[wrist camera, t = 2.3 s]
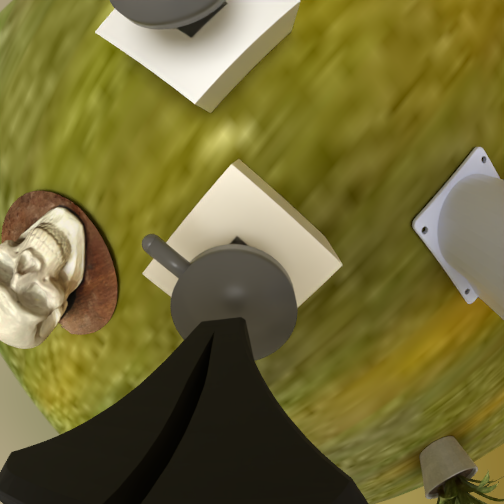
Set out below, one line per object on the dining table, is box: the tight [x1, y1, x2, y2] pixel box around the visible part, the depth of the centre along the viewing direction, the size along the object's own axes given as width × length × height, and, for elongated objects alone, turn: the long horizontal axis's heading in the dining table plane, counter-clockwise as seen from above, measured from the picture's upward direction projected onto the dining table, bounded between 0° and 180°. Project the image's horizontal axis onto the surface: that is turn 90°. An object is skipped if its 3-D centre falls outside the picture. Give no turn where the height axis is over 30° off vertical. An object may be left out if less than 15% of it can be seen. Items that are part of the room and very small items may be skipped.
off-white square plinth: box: [142, 159, 343, 308], centre depth 17 cm, size 7×7×4 cm
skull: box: [0, 191, 117, 349], centre depth 19 cm, size 12×10×10 cm
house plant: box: [420, 436, 504, 504], centre depth 20 cm, size 14×14×16 cm
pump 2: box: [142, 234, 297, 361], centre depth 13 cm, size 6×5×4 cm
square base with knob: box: [95, 0, 300, 113], centre depth 13 cm, size 7×7×4 cm
